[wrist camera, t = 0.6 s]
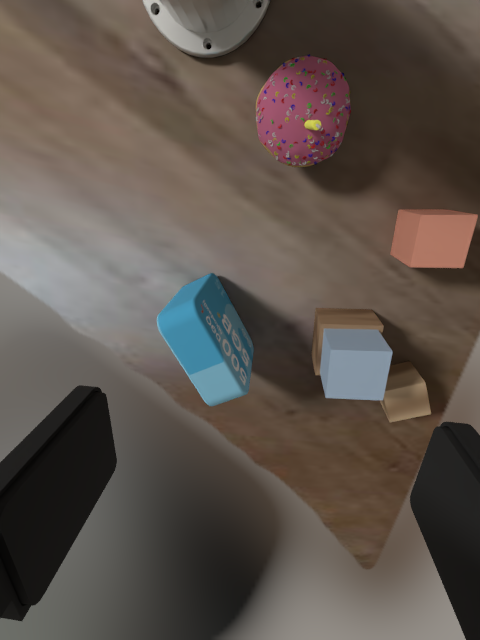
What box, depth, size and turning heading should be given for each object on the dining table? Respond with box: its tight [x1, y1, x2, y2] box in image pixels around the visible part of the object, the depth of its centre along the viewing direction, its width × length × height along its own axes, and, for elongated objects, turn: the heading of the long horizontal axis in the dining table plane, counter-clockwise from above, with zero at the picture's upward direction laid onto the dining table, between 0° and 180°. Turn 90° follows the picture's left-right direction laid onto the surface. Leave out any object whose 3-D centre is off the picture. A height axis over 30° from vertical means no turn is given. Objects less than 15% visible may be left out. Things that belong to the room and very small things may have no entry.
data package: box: [157, 273, 254, 406], centre depth 37 cm, size 12×4×12 cm, turn 27°
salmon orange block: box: [391, 209, 478, 268], centre depth 33 cm, size 5×5×6 cm
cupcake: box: [256, 54, 351, 167], centre depth 27 cm, size 9×8×12 cm
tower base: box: [311, 308, 384, 375], centre depth 39 cm, size 7×7×5 cm
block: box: [380, 361, 431, 422], centre depth 41 cm, size 5×5×5 cm
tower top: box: [320, 328, 393, 400], centre depth 35 cm, size 6×6×5 cm
